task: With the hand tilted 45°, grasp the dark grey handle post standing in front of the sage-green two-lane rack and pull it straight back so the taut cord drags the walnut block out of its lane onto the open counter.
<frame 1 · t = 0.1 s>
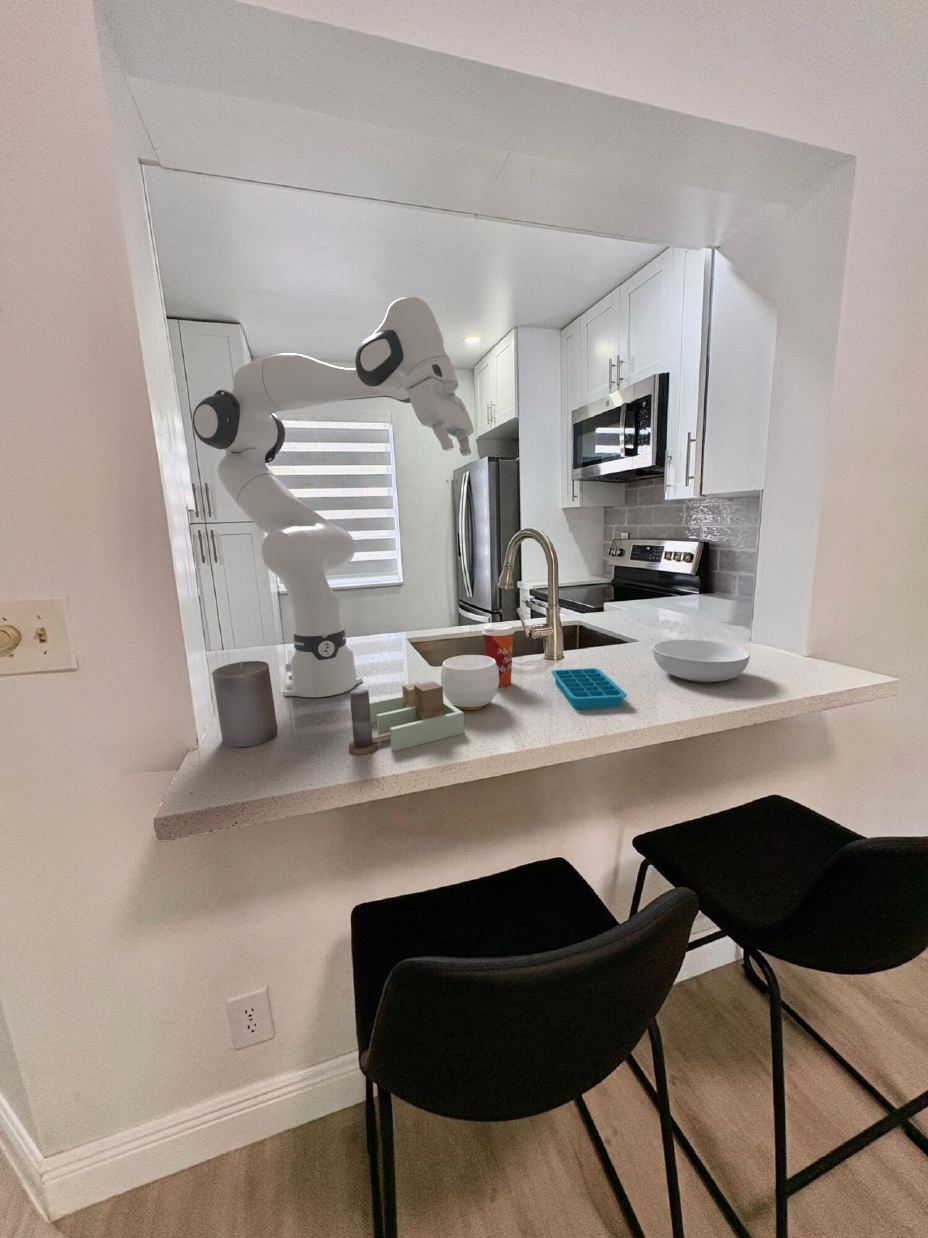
hand: (458, 452, 97), 52 cm above the counter, tool tilted 20°, fingers open, 8 cm apart
paper cup: (499, 684, 120), on the counter
ice cube tray: (585, 695, 111), on the counter
tethered walnut block: (363, 748, 87), on the counter
oak block: (415, 719, 100), resting in lane rack
serving bowl: (698, 677, 120), on the counter
pillar candle: (250, 738, 94), on the counter
lane rack: (410, 727, 95), on the counter
white deep bowl: (470, 706, 106), on the counter
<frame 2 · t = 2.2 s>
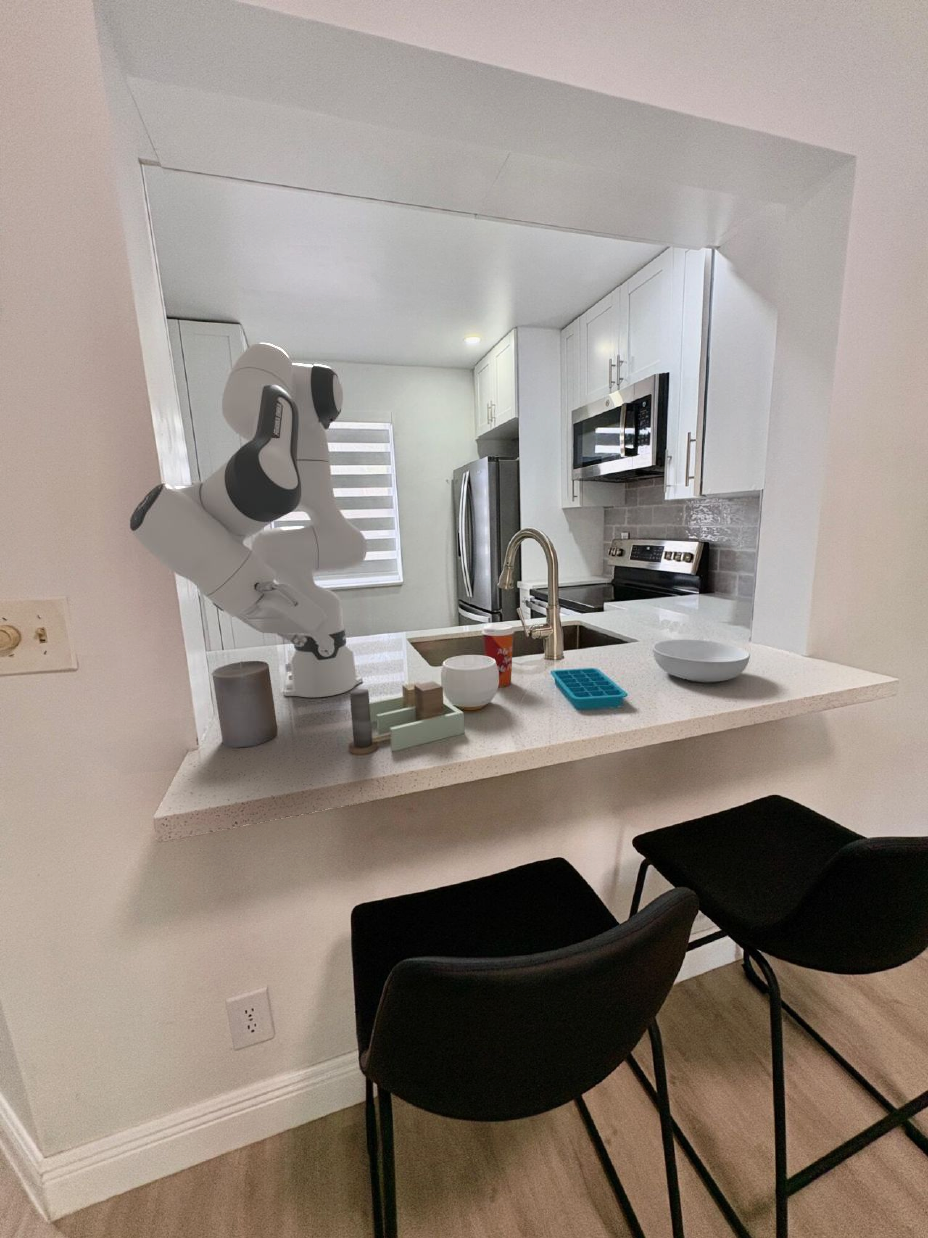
hand: (315, 644, 78), 20 cm above the counter, tool tilted 40°, fingers open, 8 cm apart
nothing on the counter moved.
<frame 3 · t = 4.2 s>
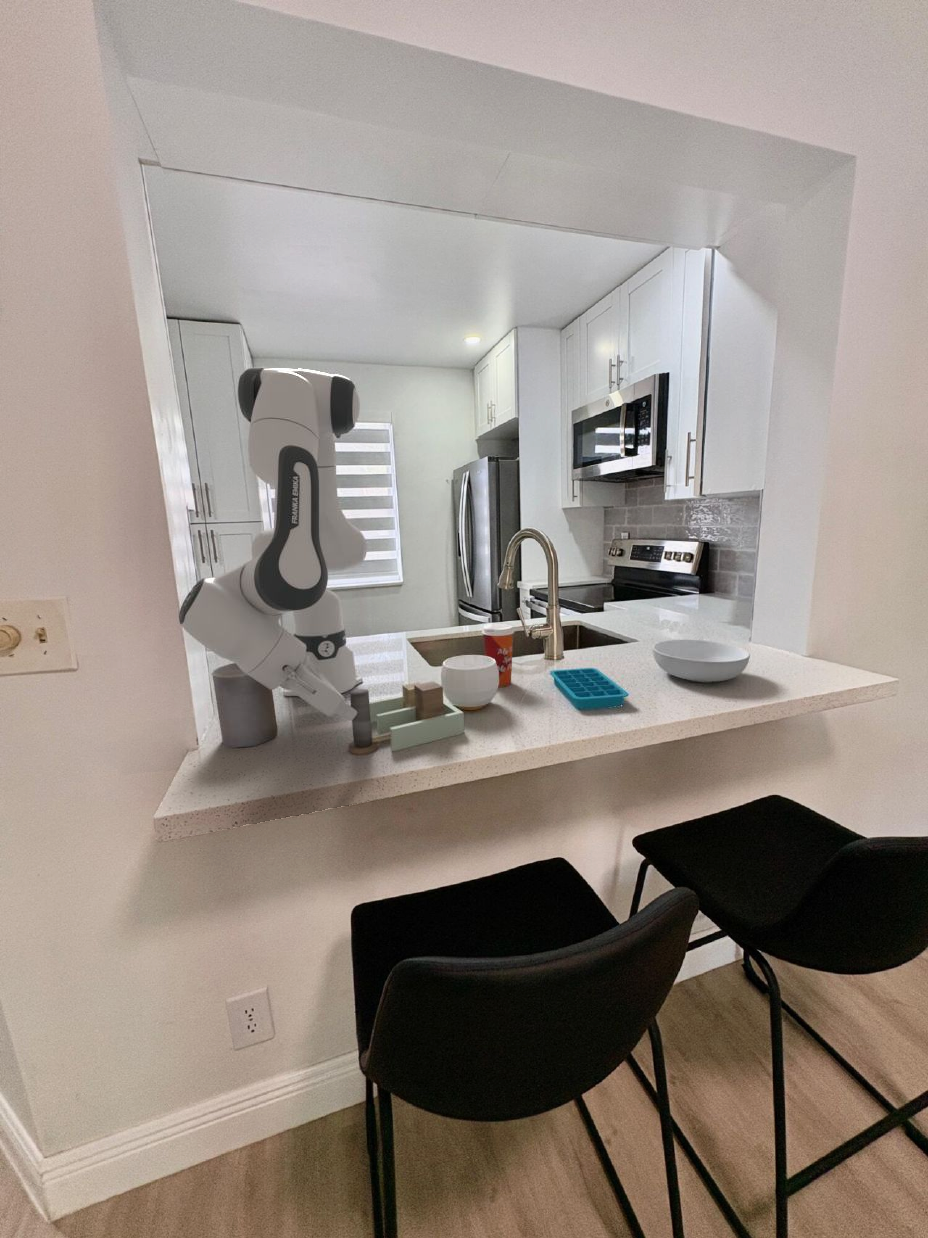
hand: (345, 706, 85), 8 cm above the counter, tool tilted 45°, fingers open, 8 cm apart
nothing on the counter moved.
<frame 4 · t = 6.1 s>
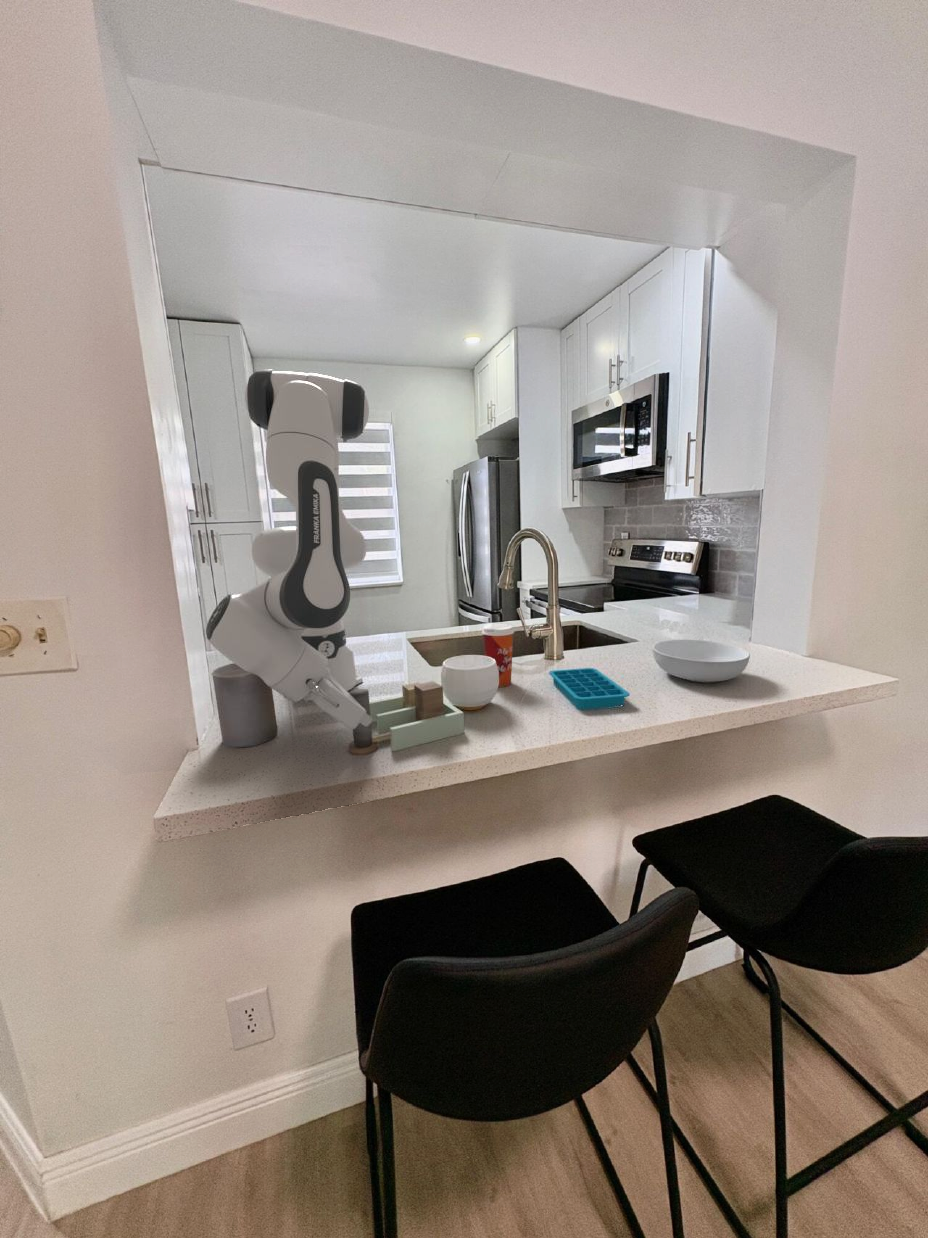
hand: (364, 717, 87), 6 cm above the counter, tool tilted 45°, fingers closed on tethered walnut block, 3 cm apart
tethered walnut block: (363, 748, 87), on the counter, touching gripper
everything else where it was.
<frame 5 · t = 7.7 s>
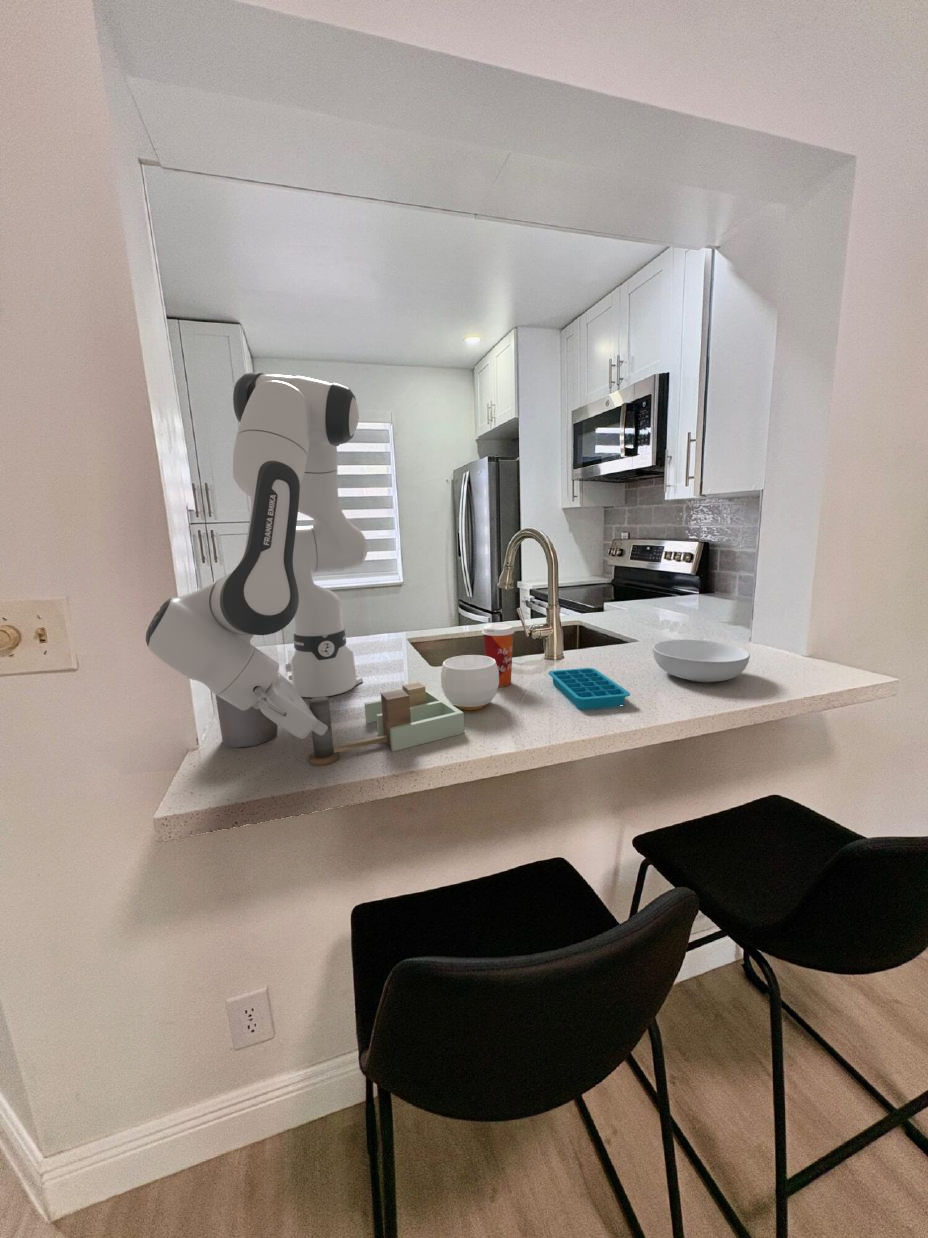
hand: (321, 725, 83), 6 cm above the counter, tool tilted 45°, fingers closed on tethered walnut block, 3 cm apart
tethered walnut block: (324, 758, 84), on the counter, touching gripper
everything else where it was.
when the fingers open (6 cm above the counter, at t = 9.5 s): tethered walnut block stays where it is, on the counter.
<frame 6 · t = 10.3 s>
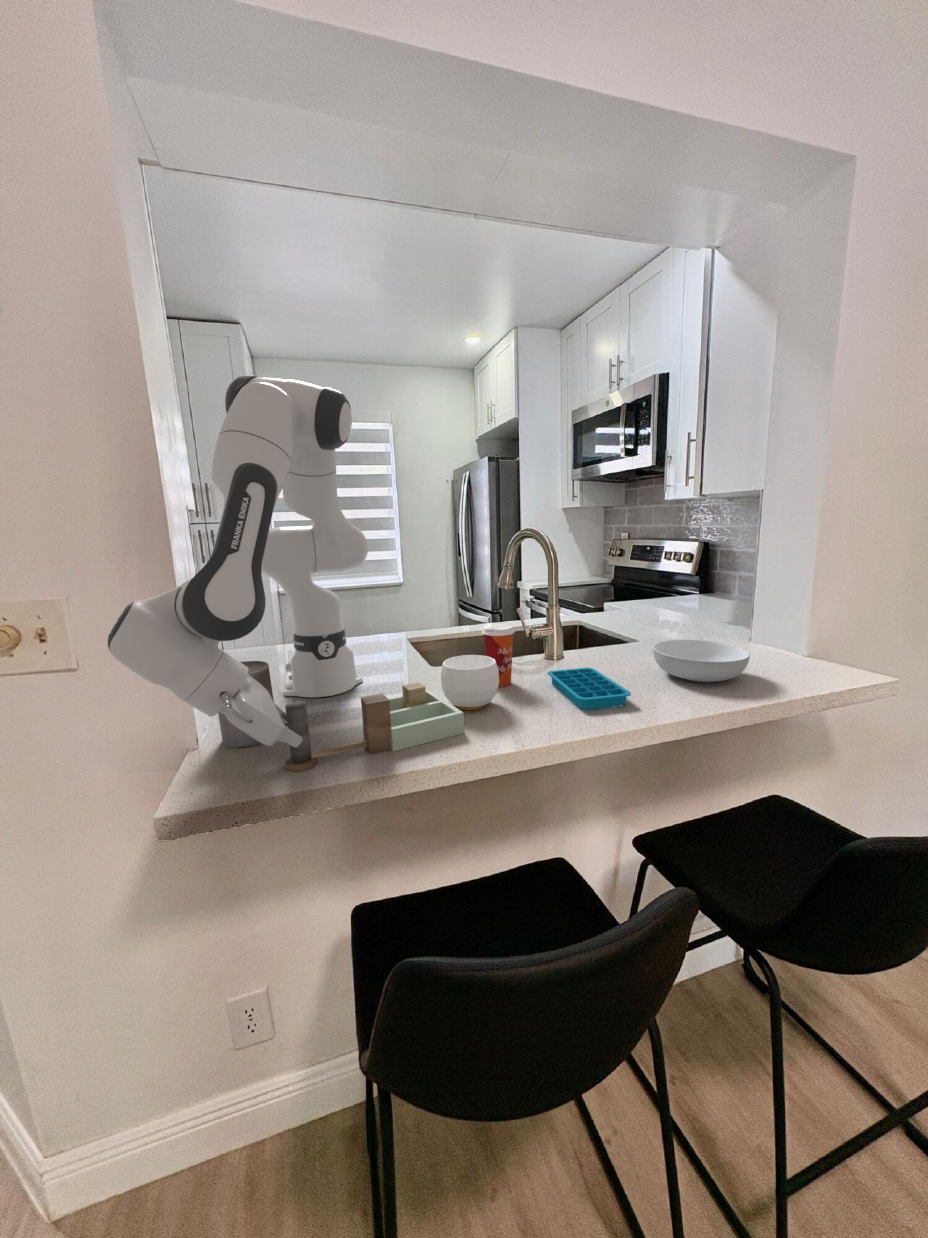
hand: (293, 731, 81), 6 cm above the counter, tool tilted 45°, fingers open, 8 cm apart
tethered walnut block: (302, 763, 82), on the counter
everything else where it was.
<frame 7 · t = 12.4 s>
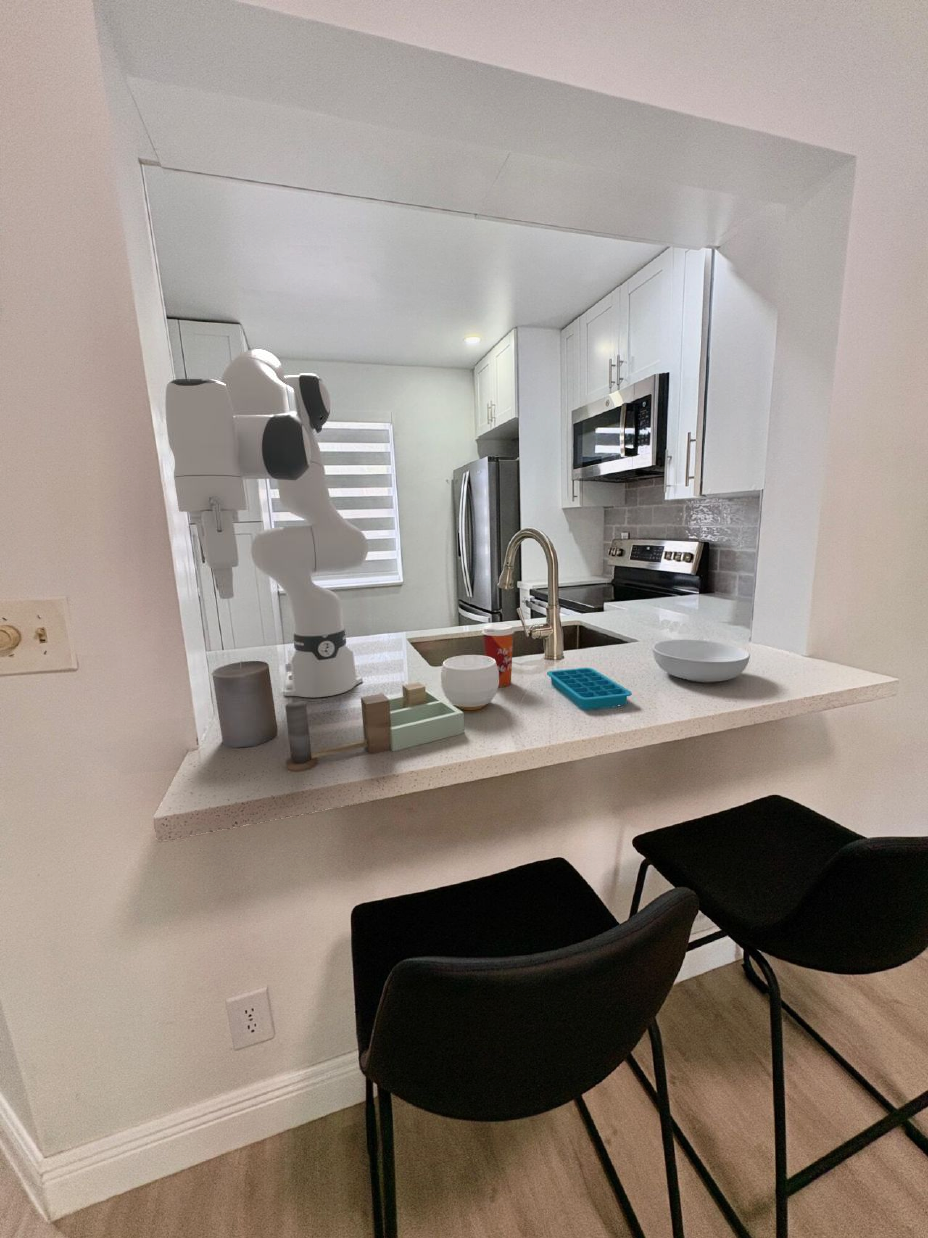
hand: (224, 593, 74), 29 cm above the counter, tool pointing down, fingers open, 8 cm apart
nothing on the counter moved.
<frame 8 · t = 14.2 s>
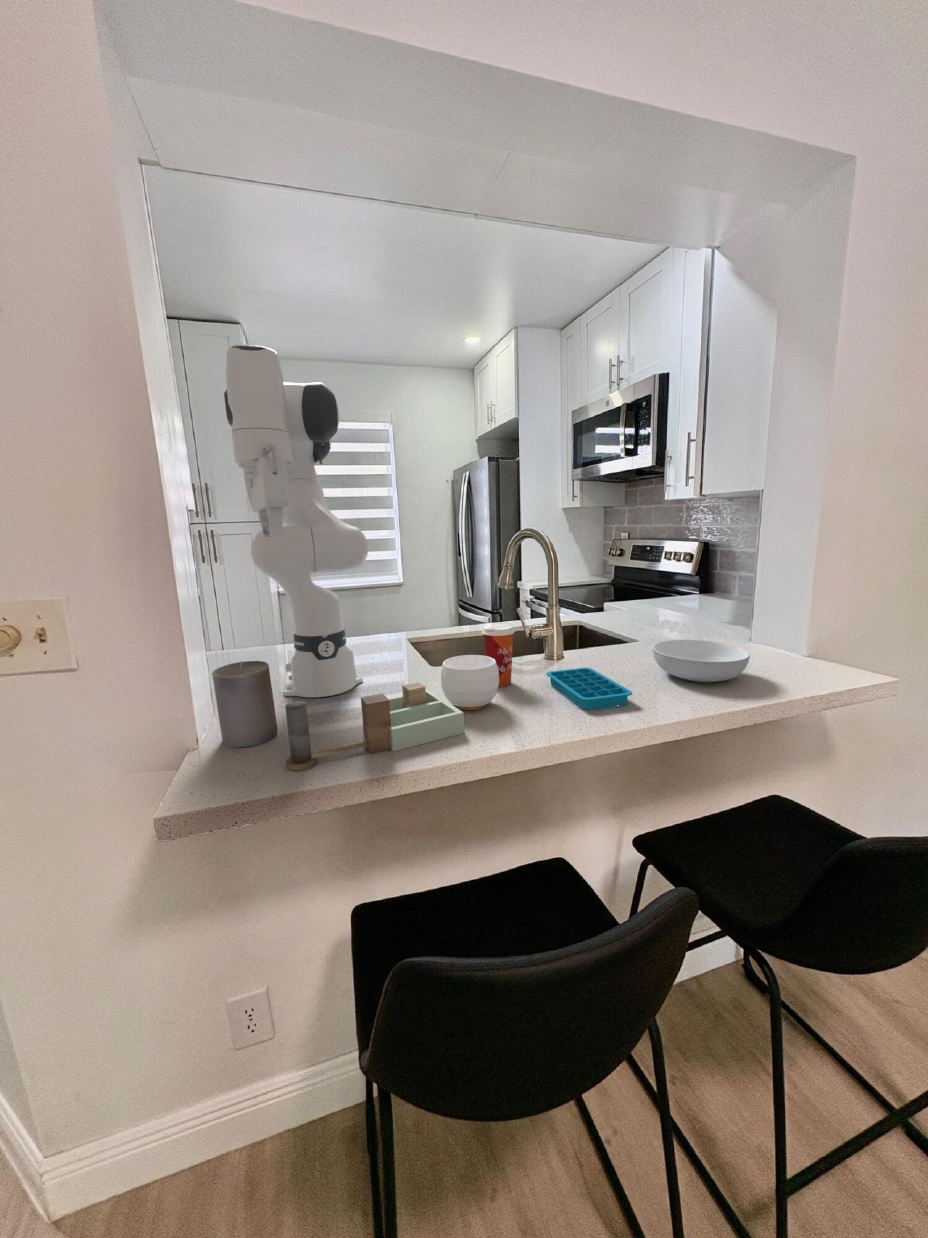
hand: (272, 537, 84), 37 cm above the counter, tool pointing down, fingers open, 8 cm apart
nothing on the counter moved.
at the end: tethered walnut block inside the target area (2.9 cm from its centre), on the counter; tethered walnut block tilted 0°; the gripper is holding nothing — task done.
